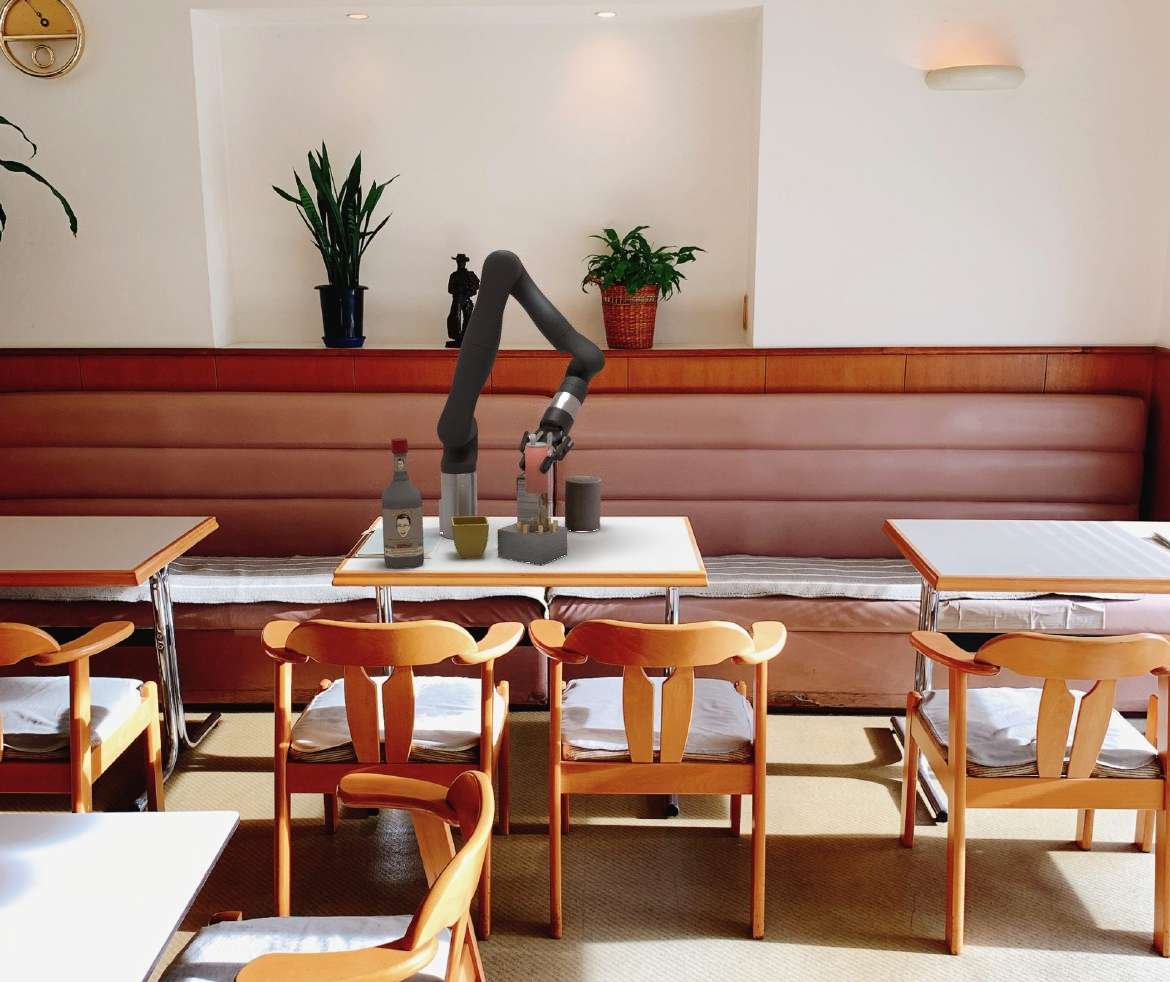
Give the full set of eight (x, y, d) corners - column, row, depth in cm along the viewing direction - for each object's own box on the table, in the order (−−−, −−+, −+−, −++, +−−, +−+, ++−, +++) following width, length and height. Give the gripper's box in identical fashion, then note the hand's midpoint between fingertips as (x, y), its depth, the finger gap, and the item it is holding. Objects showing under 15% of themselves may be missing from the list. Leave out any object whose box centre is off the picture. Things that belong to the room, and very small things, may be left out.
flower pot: (487, 550, 261) (486, 515, 259) (490, 559, 253) (489, 523, 251) (451, 552, 260) (450, 516, 258) (453, 561, 251) (452, 525, 249)
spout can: (520, 491, 251) (520, 434, 248) (534, 487, 255) (534, 431, 252) (539, 494, 248) (539, 436, 245) (552, 490, 252) (552, 433, 249)
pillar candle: (562, 532, 279) (562, 477, 275) (567, 523, 288) (567, 470, 285) (598, 533, 278) (599, 478, 274) (602, 524, 287) (603, 471, 284)
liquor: (383, 559, 253) (378, 437, 246) (421, 557, 255) (417, 435, 248) (385, 569, 244) (380, 443, 238) (424, 567, 246) (420, 441, 240)
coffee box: (525, 528, 282) (524, 470, 279) (548, 530, 281) (548, 471, 278) (516, 537, 274) (515, 477, 270) (540, 538, 272) (539, 478, 269)
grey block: (488, 555, 256) (487, 519, 254) (515, 545, 265) (514, 511, 263) (541, 565, 248) (541, 528, 246) (567, 555, 257) (567, 519, 255)
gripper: (530, 403, 257) (501, 458, 250) (579, 407, 249) (550, 464, 242) (543, 421, 263) (514, 476, 255) (591, 427, 255) (563, 483, 248)
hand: (532, 470), depth 249 cm, fingers closed on spout can, 5 cm apart
